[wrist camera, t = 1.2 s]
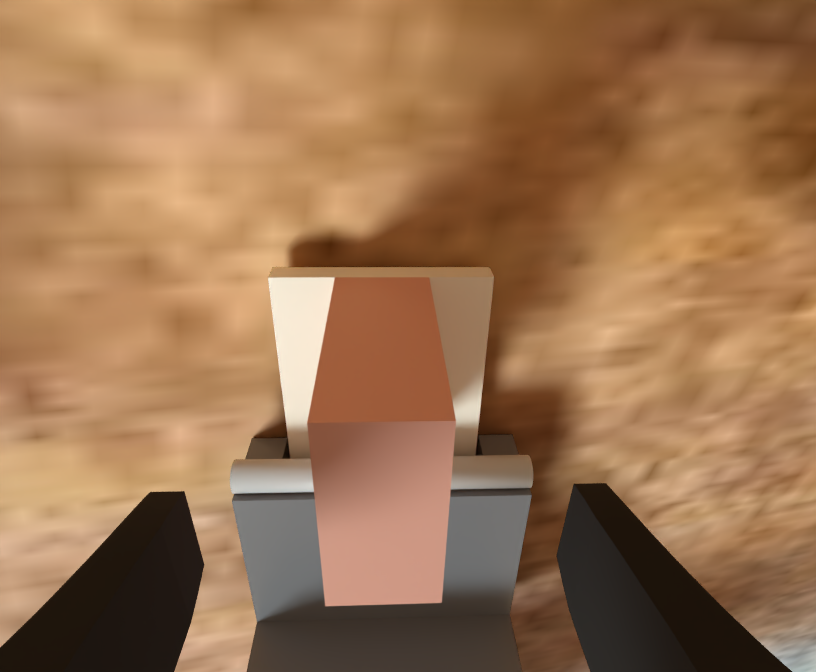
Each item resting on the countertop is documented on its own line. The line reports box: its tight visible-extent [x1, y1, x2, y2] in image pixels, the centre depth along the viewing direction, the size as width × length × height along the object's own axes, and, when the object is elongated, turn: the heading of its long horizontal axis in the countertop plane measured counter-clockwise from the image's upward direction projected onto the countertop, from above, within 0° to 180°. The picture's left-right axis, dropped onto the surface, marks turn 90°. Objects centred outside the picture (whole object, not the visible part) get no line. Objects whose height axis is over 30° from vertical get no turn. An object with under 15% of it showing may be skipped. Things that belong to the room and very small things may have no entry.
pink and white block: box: [268, 267, 494, 606], centre depth 16 cm, size 16×6×7 cm, turn 179°
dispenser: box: [230, 434, 533, 672], centre depth 18 cm, size 10×9×6 cm
